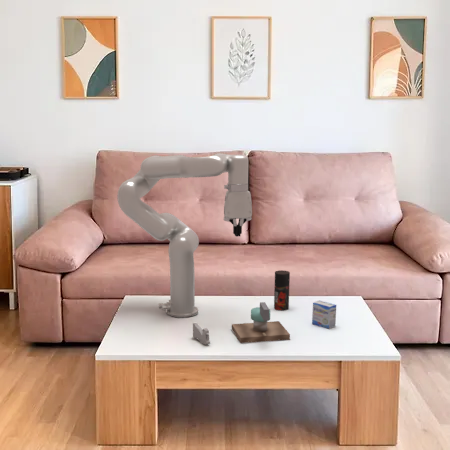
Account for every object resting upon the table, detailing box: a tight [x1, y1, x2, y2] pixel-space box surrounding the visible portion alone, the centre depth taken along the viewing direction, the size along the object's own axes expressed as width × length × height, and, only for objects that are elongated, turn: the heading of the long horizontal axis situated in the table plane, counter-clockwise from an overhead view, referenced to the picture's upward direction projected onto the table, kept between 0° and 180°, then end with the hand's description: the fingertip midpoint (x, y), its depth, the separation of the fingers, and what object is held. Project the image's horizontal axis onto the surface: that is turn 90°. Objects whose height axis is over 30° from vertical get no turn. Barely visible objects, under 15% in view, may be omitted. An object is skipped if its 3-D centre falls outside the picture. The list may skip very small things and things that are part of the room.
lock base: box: [231, 320, 291, 344], centre depth 248 cm, size 18×14×6 cm
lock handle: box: [250, 301, 271, 322], centre depth 243 cm, size 14×7×7 cm, turn 8°
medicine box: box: [311, 300, 337, 330], centre depth 258 cm, size 8×4×9 cm, turn 47°
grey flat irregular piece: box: [192, 322, 211, 346], centre depth 241 cm, size 6×1×10 cm
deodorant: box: [273, 270, 291, 312], centre depth 277 cm, size 6×6×15 cm
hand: (237, 235), depth 262 cm, fingers closed
